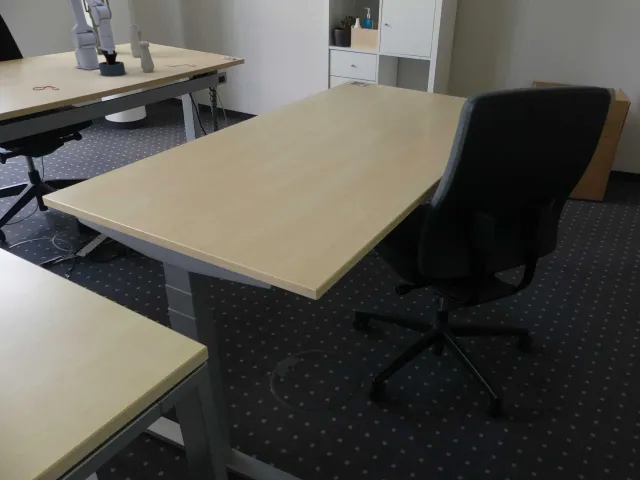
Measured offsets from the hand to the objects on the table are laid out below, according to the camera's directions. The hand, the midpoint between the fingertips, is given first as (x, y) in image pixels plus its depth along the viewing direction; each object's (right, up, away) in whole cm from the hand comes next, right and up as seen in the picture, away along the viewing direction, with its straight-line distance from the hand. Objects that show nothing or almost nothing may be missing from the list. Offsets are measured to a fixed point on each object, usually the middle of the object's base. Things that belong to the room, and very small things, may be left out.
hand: (112, 68), depth 241 cm
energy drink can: (-5, +21, +40) cm, 45 cm away
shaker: (0, -1, +1) cm, 2 cm away
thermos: (-24, +25, +45) cm, 57 cm away
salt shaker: (+13, +1, +8) cm, 15 cm away
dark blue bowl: (0, -2, +1) cm, 2 cm away
